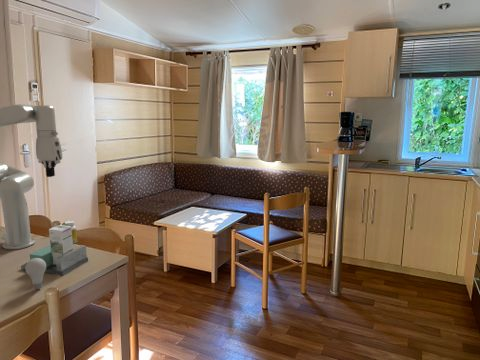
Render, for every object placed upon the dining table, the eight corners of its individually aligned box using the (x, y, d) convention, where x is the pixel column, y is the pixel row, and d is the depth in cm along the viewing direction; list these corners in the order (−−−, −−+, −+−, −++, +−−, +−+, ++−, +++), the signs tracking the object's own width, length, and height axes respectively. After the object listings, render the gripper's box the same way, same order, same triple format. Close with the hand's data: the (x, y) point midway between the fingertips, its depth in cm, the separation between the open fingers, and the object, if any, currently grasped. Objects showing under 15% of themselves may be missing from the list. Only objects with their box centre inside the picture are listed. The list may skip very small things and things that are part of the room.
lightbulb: (52, 286, 126) (49, 256, 124) (37, 294, 120) (34, 263, 118) (39, 283, 128) (35, 254, 126) (23, 291, 122) (20, 260, 120)
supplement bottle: (78, 242, 168) (77, 222, 166) (66, 245, 164) (64, 224, 163) (75, 239, 172) (74, 219, 170) (63, 241, 169) (61, 221, 167)
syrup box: (75, 260, 144) (71, 225, 141) (64, 266, 138) (61, 230, 135) (62, 259, 145) (59, 224, 142) (51, 265, 139) (48, 228, 137)
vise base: (21, 269, 139) (19, 253, 138) (49, 255, 152) (47, 241, 151) (63, 275, 134) (61, 258, 133) (88, 260, 147) (86, 245, 146)
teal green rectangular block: (30, 266, 138) (29, 254, 137) (58, 253, 151) (57, 241, 150) (44, 268, 136) (42, 255, 135) (70, 254, 149) (69, 243, 148)
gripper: (67, 134, 159) (71, 175, 162) (39, 133, 163) (43, 174, 166) (54, 135, 152) (58, 178, 155) (25, 134, 156) (30, 177, 159)
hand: (50, 176), depth 161 cm, fingers closed
